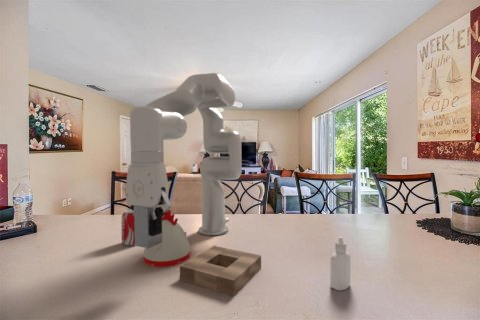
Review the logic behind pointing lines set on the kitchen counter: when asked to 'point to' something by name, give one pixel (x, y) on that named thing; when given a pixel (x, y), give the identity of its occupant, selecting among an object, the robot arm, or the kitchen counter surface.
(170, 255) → the kitchen timer
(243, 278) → the socket block
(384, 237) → the kitchen counter surface
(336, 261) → the eye dropper bottle
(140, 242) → the square peg
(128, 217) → the soda can
